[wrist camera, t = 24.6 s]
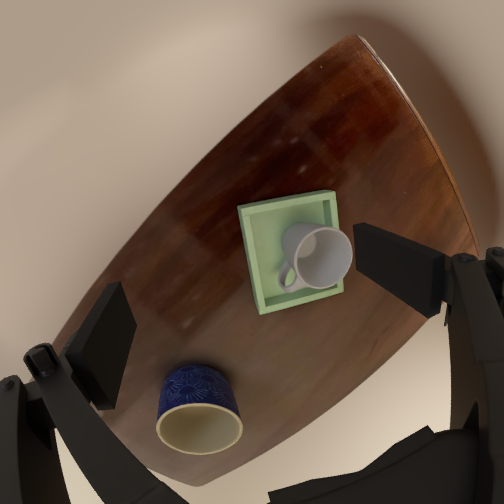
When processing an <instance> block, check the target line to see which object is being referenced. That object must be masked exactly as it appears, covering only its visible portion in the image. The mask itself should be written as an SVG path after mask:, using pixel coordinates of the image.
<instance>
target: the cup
mask: <svg viewBox="0 0 504 504" xmlns="http://www.w3.org/2000/svg"><path fill="white" fill-rule="evenodd" d="M282 250H283V252H284V254H285V256H286V258H285V261H284V263H283V265H282V267H281V270H280V272H279V276H278V283H279V286H280V287H281V288H282V289H283V290H284V291H285V292H287V293H293V292H295V291H297V290H298V289H300V288H303V287H307V286H308V287H311V288H315V289H325V288H328V287H331V286H333V285H335V284H336V283H338V282H339V281H340V280H341V279H342V278H343V277H344V276H345V275H346V273H347V272H348V270H349V268H350V265H351V262H352V246H351V243H350V241H349V239H348V238H347V236H346V235H345V234H344V233H343V232H342V231H340V230H339V229H336V228H334V227H330V226H325V225H320V224H313V223H301V222H300V223H296V224H294V225H292V226H290V227H289V228H288V229H287V230H286V232H285V233H284V235H283V238H282ZM291 269H293V270H294V272H295V279H294V281H293V283H292V284H290V285H288V286H285V280H286V277H287V274H288V272H289V271H290V270H291Z"/></svg>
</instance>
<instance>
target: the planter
mask: <svg viewBox="0 0 504 504" xmlns="http://www.w3.org/2000/svg"><path fill="white" fill-rule="evenodd" d="M156 430H157V434H158V436H159V437H160V439H161V440H162V441H163V442H164V443H165V444H166V445H168V446H169V447H171V448H173V449H175V450H177V451H180V452H183V453H188V454H196V455H204V454H212V453H217V452H220V451H223V450H225V449H227V448H229V447H231V446H232V445H234V444H235V443H236V442H237V441H238V440H239V438H240V437H241V435H242V432H243V424H242V421H241V417H240V414H239V410H238V407H237V403H236V400H235V397H234V394H233V391H232V389H231V386H230V384H229V383H228V381H227V379H226V378H225V377H224V376H223V375H222V374H221V373H220V372H218V371H217V370H215V369H213V368H210V367H207V366H202V365H189V366H184V367H181V368H179V369H177V370H175V371H173V372H172V373H171V374H170V375H169V376H168V377H167V378H166V380H165V382H164V384H163V387H162V390H161V394H160V400H159V407H158V416H157V425H156Z"/></svg>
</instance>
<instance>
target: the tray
mask: <svg viewBox="0 0 504 504" xmlns="http://www.w3.org/2000/svg"><path fill="white" fill-rule="evenodd" d="M237 208H238V214H239V219H240V225H241V230H242V235H243V241H244V246H245V252H246V257H247V262H248V268H249V273H250V278H251V284H252V289H253V294H254V299H255V305H256V307H257V309H258V311H259V314H260V315H261V314H265V313H269V312H273V311H277V310H280V309H284V308H288V307H292V306H295V305H299V304H303V303H306V302H310V301H313V300H317V299H320V298H324V297H327V296H331V295H334V294H337V293H341V292H343V278H342V279H341V280H340V281H339V282H338V283H336V284H335V285H333V286H331V287H328V288H325V289H315V288H311V287H308V286H307V287H303V288H300V289H298V290H297V291H295V292H293V293H287V292H285V291H284V290H283V289H282V288H281V287H280V286H279V283H278V276H279V272H280V270H281V267H282V265H283V263H284V261H285V258H286V256H285V254H284V252H283V250H282V238H283V235H284V233H285V232H286V230H287V229H288V228H289V227H290V226H292V225H294V224H296V223H300V222H301V223H313V224H320V225H325V226H330V227H334V228H336V229H339V223H338V213H337V204H336V196H335V191H330V190H320V191H314V192H309V193H303V194H297V195H292V196H286V197H281V198H275V199H270V200H265V201H259V202H254V203H249V204H244V205H239V206H237ZM294 279H295V272H294V270H293V269H291V270H290V271H289V272H288V274H287V277H286V280H285V286H288V285H290V284H292V283H293V281H294Z"/></svg>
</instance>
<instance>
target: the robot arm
mask: <svg viewBox="0 0 504 504" xmlns="http://www.w3.org/2000/svg"><path fill="white" fill-rule="evenodd" d="M353 232H354V244H355V257H356V270H358V271H359V272H361V273H362V274H364V275H365V276H367V277H368V278H370V279H371V280H373V281H374V282H376V283H377V284H379V285H380V286H382V287H383V288H385V289H386V290H388V291H389V292H391V293H392V294H393V295H395V296H396V297H398V298H399V299H401V300H402V301H404V302H405V303H407V304H408V305H409V306H411V307H412V308H414V309H415V310H417V311H418V312H419V313H421V314H422V315H424V316H425V317H426V318H428V319H429V318H431V317H432V316H435V315H436V314H439V313H440V309H441V301H442V300H443V301H444V302H446V303H447V309H446V316H445V322H444V326H446V325H447V323H448V332H449V346H450V362H451V419H450V430H444V431H441V432H436V433H434V432H433V431H432V430H431V429H430V428H429V426H428V425H427V426H425V427H424V428H422V429H420V430H419V431H417V432H415V433H413V434H412V435H410V436H408V437H407V438H405V439H403V440H401V441H399V442H398V443H395V444H394V445H393V446H392V447H391V448H389V449H388V450H387V451H386V452H384V453H383V454H382V455H381V456H379V457H378V458H377V459H376V460H374V461H373V462H372V463H370V464H369V465H368V466H367V467H365V468H364V469H362V470H360V471H358V472H354V473H349V474H343V475H338V476H332V477H326V478H319V479H312V480H309V481H305V482H303V483H299V484H296V485H293V486H289V487H286V488H282V489H278V490H274V491H271V492H268V495H269V498H270V502H269V503H267V504H504V249H503V248H502V247H492V248H488V249H487V251H486V259H485V260H480V261H479V260H478V259H477V258H476V257H475V256H474V255H470V254H467V253H461V254H455V255H453V256H452V257H449V256H447V255H445V254H444V253H441V252H439V251H437V250H434V249H432V248H429V247H427V246H424V245H422V244H419V243H417V242H414V241H412V240H409V239H407V238H404V237H402V236H399V235H396V234H394V233H391V232H388V231H386V230H383V229H380V228H378V227H375V226H372V225H369V224H367V223H360V224H355V225H353ZM136 327H137V324H136V322H135V319H134V317H133V314H132V312H131V309H130V306H129V304H128V301H127V298H126V296H125V293H124V290H123V287H122V284H121V282H120V281H119V282H115V283H110V284H108V285H107V286H106V288H105V289H104V291H103V292H102V294H101V295H100V297H99V298H98V300H97V301H96V303H95V304H94V306H93V308H92V309H91V311H90V312H89V314H88V315H87V317H86V319H85V320H84V322H83V323H82V325H81V327H80V328H79V330H77V331H76V332H75V333H74V334H73V335H71V336H70V338H69V339H68V341H67V343H66V344H65V346H64V348H63V350H62V351H61V353H60V354H59V356H58V357H57V355H56V353H55V351H54V349H53V347H52V345H51V344H49V343H42V344H39V345H37V346H35V347H33V348H31V349H30V350H29V351H28V352H27V353H26V354H25V356H24V359H23V360H24V362H25V364H26V366H27V367H28V369H29V370H30V372H31V374H32V376H33V377H34V379H35V381H33V382H30V383H27V384H23V382H22V381H21V379H20V378H19V377H18V376H17V375H12V376H9V377H7V378H4V379H3V380H1V381H0V504H71V502H70V499H69V495H68V492H67V488H66V484H65V481H64V476H63V472H62V468H61V463H60V459H59V454H58V448H57V443H56V437H55V431H54V429H55V428H57V430H58V431H59V433H60V435H61V437H62V439H63V441H64V443H65V444H66V446H67V448H68V449H69V451H70V453H71V455H72V456H73V458H74V460H75V461H76V463H77V464H78V466H79V468H80V469H81V471H82V472H83V474H84V475H85V477H86V478H87V480H88V481H89V483H90V484H91V486H92V487H93V489H94V490H95V491H96V492H97V494H98V496H99V497H100V498H101V500H102V501H103V502H104V503H105V504H189V503H188V502H187V501H186V500H184V499H183V498H182V497H181V496H179V495H178V494H177V493H176V492H174V491H173V490H172V489H171V488H170V487H169V486H167V485H166V484H165V483H164V482H162V481H160V480H159V479H158V478H156V477H155V476H154V475H153V474H152V473H151V472H150V471H149V470H148V469H147V468H146V467H145V466H144V465H143V464H142V463H141V462H140V461H139V460H138V459H137V458H136V457H135V456H134V455H133V454H132V453H131V452H130V451H129V450H128V449H127V448H126V447H125V446H124V444H123V443H122V442H121V441H120V440H119V439H118V438H117V437H116V436H115V434H114V433H113V432H112V431H111V430H110V429H109V427H108V426H107V425H106V424H105V423H104V421H103V420H102V419H101V418H100V417H99V415H98V414H97V413H96V412H95V410H94V409H93V408H92V406H91V405H90V402H91V401H92V402H93V404H94V405H95V407H96V408H97V410H110V409H115V405H116V401H117V397H118V393H119V389H120V385H121V381H122V377H123V373H124V369H125V366H126V362H127V358H128V355H129V351H130V348H131V344H132V341H133V337H134V334H135V331H136Z"/></svg>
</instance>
